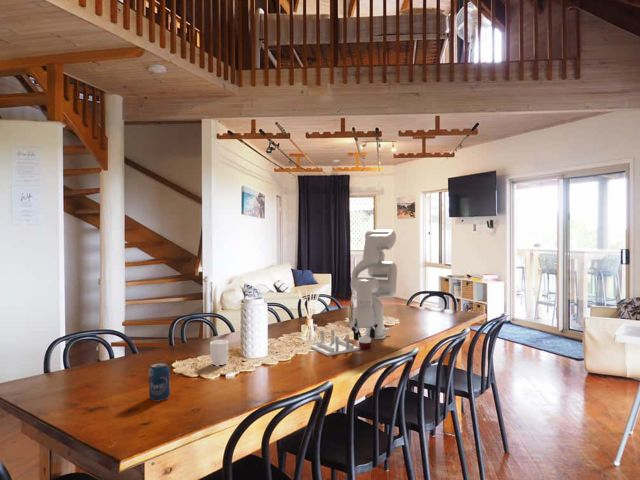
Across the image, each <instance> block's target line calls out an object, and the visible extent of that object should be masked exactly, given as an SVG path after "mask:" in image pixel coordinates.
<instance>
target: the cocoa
mask: <svg viewBox="0 0 640 480" xmlns="http://www.w3.org/2000/svg"><path fill="white" fill-rule="evenodd" d="M360 331H361V330H360V329H359V330H358V333H359V340H358V345H359V346H358V347H359V349H361V350H363V351H366V350H369V349H372V348H374V345H375V342H372V339H371V338H370V337H369V336H368V335H363V334H361V332H360Z"/></svg>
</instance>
